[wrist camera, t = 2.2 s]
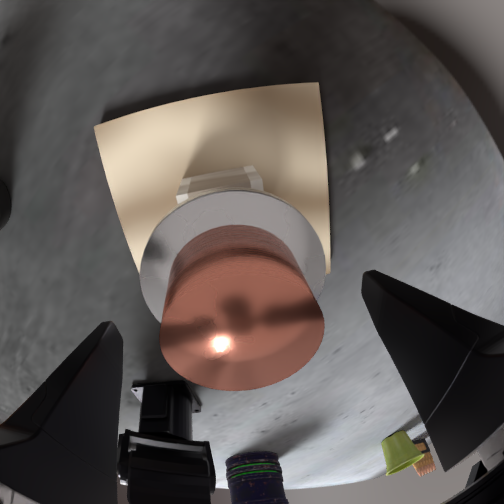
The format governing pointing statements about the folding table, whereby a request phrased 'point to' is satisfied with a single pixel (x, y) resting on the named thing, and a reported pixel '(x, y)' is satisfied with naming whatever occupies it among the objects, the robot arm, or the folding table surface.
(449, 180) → the folding table surface
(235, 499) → the storage jar
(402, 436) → the plant pot
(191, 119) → the stand
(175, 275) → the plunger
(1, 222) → the drinking cup
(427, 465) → the ammunition clip
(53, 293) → the folding table surface
